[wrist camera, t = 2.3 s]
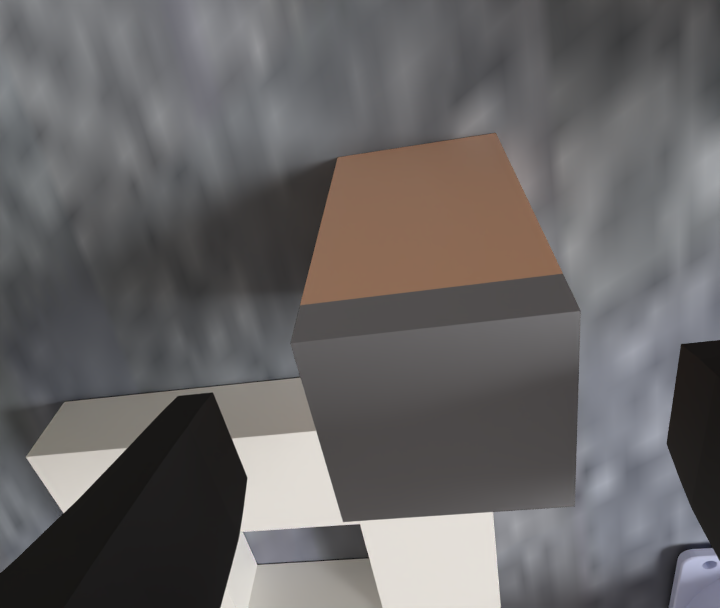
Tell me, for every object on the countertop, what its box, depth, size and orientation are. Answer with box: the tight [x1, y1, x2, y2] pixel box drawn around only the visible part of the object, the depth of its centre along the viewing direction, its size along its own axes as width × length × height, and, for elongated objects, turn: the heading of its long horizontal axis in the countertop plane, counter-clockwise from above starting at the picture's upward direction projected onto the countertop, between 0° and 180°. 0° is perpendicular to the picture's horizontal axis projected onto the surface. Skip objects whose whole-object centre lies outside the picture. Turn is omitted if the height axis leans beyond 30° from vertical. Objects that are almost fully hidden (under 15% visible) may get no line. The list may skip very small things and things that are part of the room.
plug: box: [290, 133, 581, 522], centre depth 13 cm, size 4×4×8 cm
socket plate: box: [26, 378, 501, 608], centre depth 22 cm, size 14×14×3 cm
